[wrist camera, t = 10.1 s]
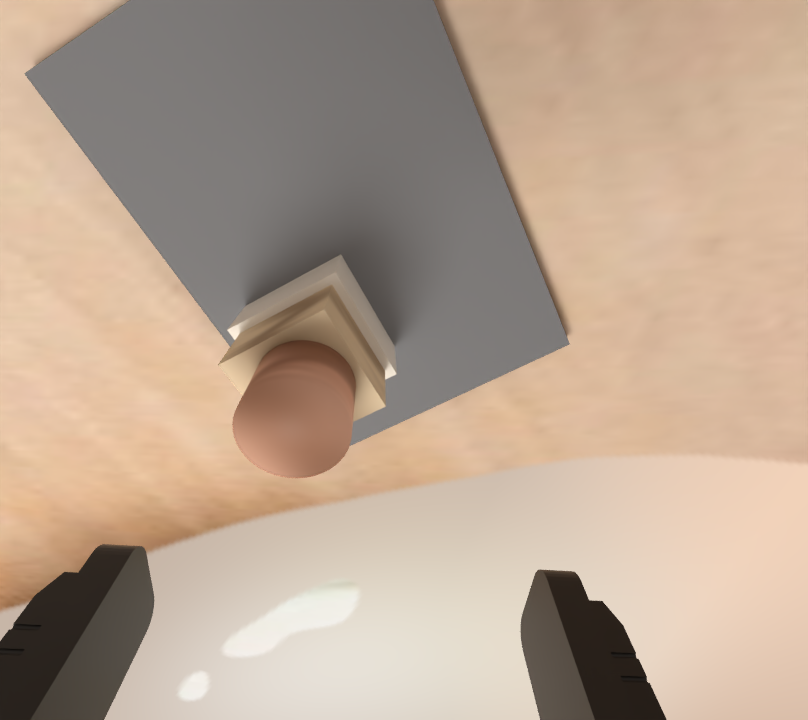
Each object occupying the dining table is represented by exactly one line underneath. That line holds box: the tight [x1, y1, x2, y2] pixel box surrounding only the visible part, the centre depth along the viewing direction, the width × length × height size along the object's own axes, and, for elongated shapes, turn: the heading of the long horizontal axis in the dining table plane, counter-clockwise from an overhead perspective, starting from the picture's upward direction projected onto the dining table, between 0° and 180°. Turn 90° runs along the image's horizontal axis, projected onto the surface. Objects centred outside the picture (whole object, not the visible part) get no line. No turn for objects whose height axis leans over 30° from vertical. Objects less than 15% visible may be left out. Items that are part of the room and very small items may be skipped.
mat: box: [25, 0, 569, 446], centre depth 29 cm, size 20×28×1 cm
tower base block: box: [227, 254, 397, 380], centre depth 29 cm, size 7×7×4 cm
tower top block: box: [218, 285, 386, 422], centre depth 26 cm, size 6×6×4 cm
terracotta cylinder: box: [233, 340, 356, 478], centre depth 22 cm, size 5×5×4 cm
